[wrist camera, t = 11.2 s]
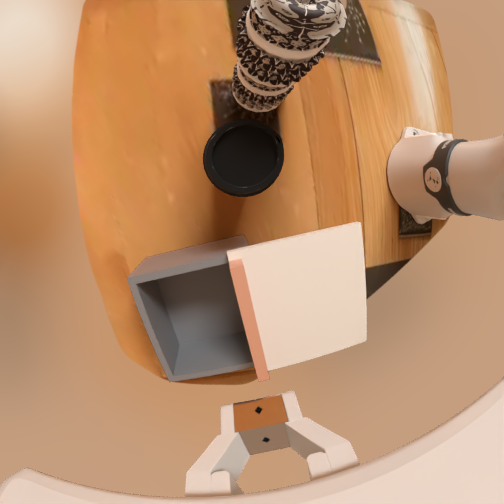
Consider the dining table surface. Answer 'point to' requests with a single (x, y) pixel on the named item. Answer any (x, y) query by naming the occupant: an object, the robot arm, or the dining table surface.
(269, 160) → the coffee cup
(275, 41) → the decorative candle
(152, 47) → the dining table surface
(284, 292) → the lid
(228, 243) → the storage box
